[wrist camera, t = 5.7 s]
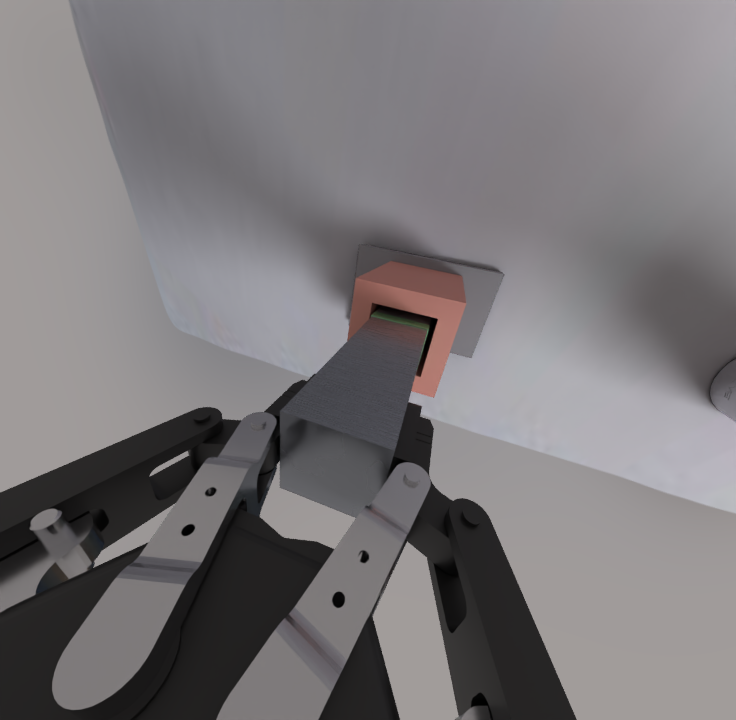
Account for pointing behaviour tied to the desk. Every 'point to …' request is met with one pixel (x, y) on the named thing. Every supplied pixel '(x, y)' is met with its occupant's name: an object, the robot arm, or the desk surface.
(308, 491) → the steel column
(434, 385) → the stand sleeve
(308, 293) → the desk surface
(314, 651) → the robot arm
